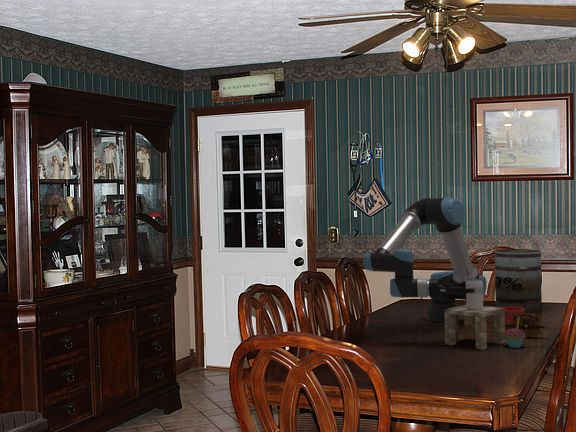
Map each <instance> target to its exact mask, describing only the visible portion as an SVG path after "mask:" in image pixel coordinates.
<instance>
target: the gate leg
mask: <svg viewBox="0 0 576 432" xmlns="http://www.w3.org/2000/svg"><path fill="white" fill-rule="evenodd" d="M463 316H464V318H463V319H464V321H463V324H464V334H462V335H459V321H458V315H457V314H455V333H456V343H458V342H459V341H463V340H476V320H475V317H474V316H466V315H463Z"/></svg>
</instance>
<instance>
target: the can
mask: <svg viewBox="0 0 576 432" xmlns="http://www.w3.org/2000/svg"><path fill="white" fill-rule="evenodd" d="M466 287H483V282H482V280H481V278H468V279H467V282H466ZM465 301H466V304H465V305H466V307H467V309H469V310H481V309H482V308H483V306H484V297H483V294H466V300H465Z"/></svg>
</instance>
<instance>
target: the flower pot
mask: <svg viewBox="0 0 576 432" xmlns="http://www.w3.org/2000/svg"><path fill="white" fill-rule="evenodd" d="M500 308H504V311H505V324H508V323H514V320H513V318H514V315H515V314H516V315H519V314H522V313H524V308H520V307H500ZM505 331H506V328H505Z"/></svg>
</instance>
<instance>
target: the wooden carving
mask: <svg viewBox="0 0 576 432" xmlns="http://www.w3.org/2000/svg"><path fill="white" fill-rule="evenodd" d="M519 316H520V317H519ZM518 318H520V319H519V326H518V329H519V330H522V331H523V332H524V333H525V334H526V335H525V338H533V337H535V336H538V335H540V334H542V331H541V330H540V329H545V328H546V326H545V325H540V318H539V315H534V314H533V313H522V314H519V315H516V314H515V315H514V318H513V320H514V323H508V324H505V328H506V330H508V329H513V328H516V327H517V321H518Z"/></svg>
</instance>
